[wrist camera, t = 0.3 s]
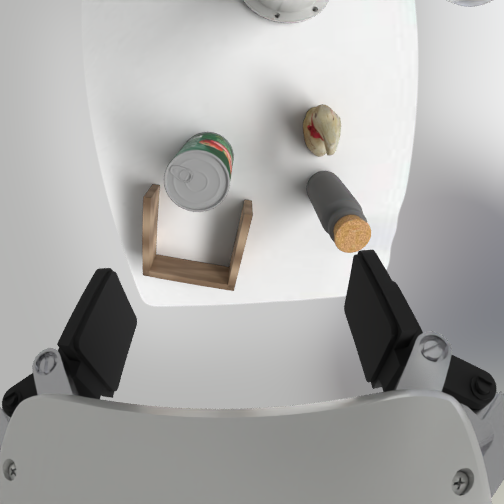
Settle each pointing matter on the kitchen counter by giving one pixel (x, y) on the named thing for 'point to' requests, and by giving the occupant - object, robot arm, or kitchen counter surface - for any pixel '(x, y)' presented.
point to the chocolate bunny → (321, 130)
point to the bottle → (338, 212)
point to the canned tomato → (200, 173)
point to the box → (187, 268)
